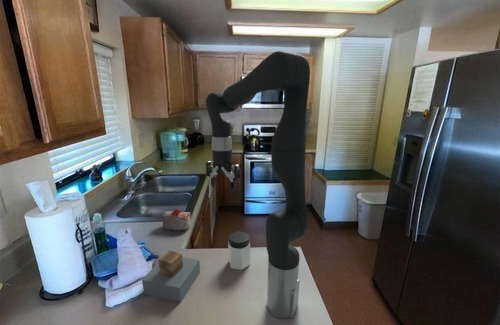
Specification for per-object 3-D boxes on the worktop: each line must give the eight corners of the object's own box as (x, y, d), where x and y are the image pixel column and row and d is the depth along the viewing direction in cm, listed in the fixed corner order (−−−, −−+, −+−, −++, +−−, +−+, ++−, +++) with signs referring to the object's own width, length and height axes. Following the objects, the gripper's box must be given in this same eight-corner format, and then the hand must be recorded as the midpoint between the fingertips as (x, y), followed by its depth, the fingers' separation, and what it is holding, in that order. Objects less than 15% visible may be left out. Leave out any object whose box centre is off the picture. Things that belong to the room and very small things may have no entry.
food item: (192, 224, 124) (191, 207, 122) (187, 232, 116) (186, 214, 114) (168, 223, 125) (166, 206, 123) (161, 231, 118) (159, 213, 115)
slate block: (200, 273, 90) (199, 260, 88) (181, 303, 76) (179, 288, 75) (167, 267, 93) (166, 254, 91) (144, 294, 80) (142, 279, 78)
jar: (227, 258, 98) (226, 232, 95) (245, 254, 100) (245, 229, 97) (231, 272, 90) (231, 245, 86) (252, 268, 92) (252, 241, 89)
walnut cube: (183, 267, 84) (181, 253, 83) (172, 277, 79) (171, 263, 78) (170, 263, 86) (169, 250, 85) (159, 273, 81) (158, 259, 80)
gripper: (243, 148, 88) (243, 188, 92) (212, 144, 94) (213, 182, 99) (233, 151, 82) (234, 195, 86) (200, 148, 88) (202, 188, 92)
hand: (223, 188), depth 92 cm, fingers open, 8 cm apart
